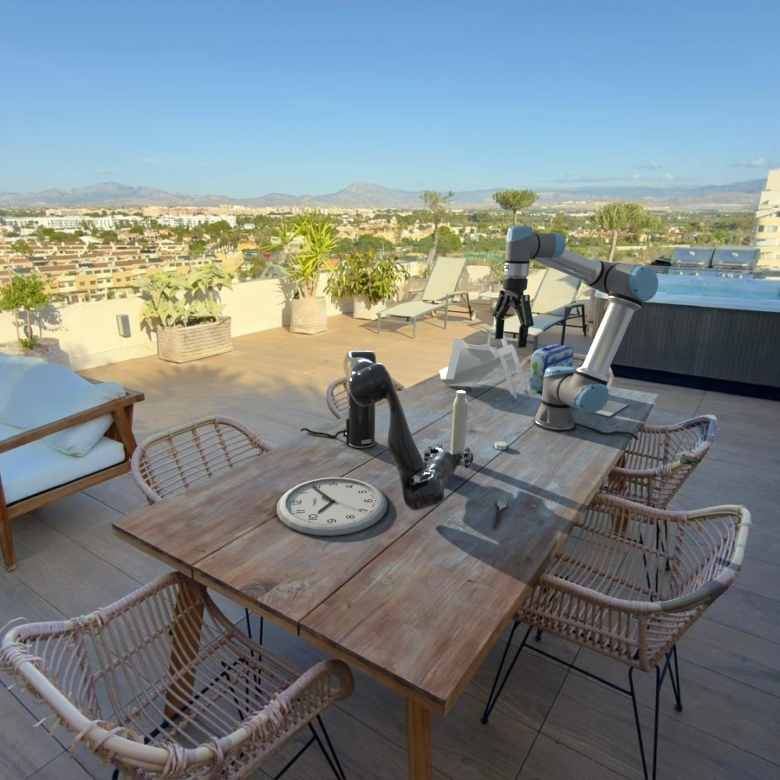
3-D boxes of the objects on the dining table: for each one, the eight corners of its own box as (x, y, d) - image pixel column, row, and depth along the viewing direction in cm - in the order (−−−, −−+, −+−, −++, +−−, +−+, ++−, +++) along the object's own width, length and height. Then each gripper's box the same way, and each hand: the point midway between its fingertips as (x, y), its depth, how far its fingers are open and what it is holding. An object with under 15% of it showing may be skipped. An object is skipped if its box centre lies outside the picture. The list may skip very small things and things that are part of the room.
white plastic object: (461, 429, 252) (437, 405, 227) (444, 352, 274) (420, 323, 250) (535, 404, 240) (518, 377, 215) (510, 326, 262) (492, 293, 237)
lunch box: (545, 397, 238) (550, 352, 231) (524, 391, 245) (529, 348, 239) (572, 386, 255) (578, 344, 249) (552, 381, 262) (557, 340, 256)
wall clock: (392, 527, 129) (268, 531, 127) (391, 533, 130) (269, 537, 127) (383, 473, 158) (282, 475, 155) (383, 478, 158) (282, 480, 156)
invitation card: (608, 416, 214) (573, 407, 224) (608, 416, 214) (573, 408, 224) (628, 404, 229) (594, 396, 238) (628, 405, 229) (594, 397, 238)
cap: (503, 450, 180) (503, 446, 179) (492, 447, 182) (493, 443, 182) (508, 447, 183) (508, 443, 182) (497, 444, 185) (498, 440, 185)
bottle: (448, 458, 173) (451, 390, 166) (460, 456, 175) (464, 389, 168) (453, 463, 169) (457, 394, 162) (466, 462, 171) (470, 393, 164)
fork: (489, 527, 133) (489, 520, 132) (498, 498, 147) (499, 492, 147) (499, 529, 132) (500, 523, 132) (508, 500, 147) (508, 494, 146)
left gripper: (465, 460, 147) (477, 440, 161) (417, 452, 152) (433, 433, 166) (464, 484, 149) (475, 462, 164) (416, 476, 154) (432, 455, 168)
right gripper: (485, 273, 175) (480, 336, 181) (528, 281, 153) (521, 352, 159) (504, 273, 177) (499, 335, 184) (550, 280, 155) (542, 350, 161)
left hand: (454, 447), depth 165 cm, fingers open, 8 cm apart
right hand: (509, 343), depth 171 cm, fingers open, 13 cm apart
